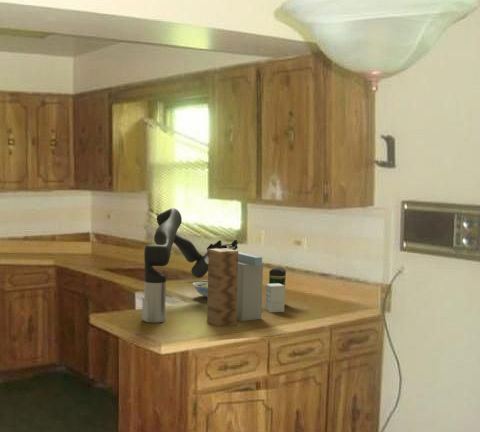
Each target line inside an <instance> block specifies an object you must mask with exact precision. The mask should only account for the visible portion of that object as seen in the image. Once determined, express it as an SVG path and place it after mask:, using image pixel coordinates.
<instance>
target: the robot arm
mask: <svg viewBox="0 0 480 432" xmlns="http://www.w3.org/2000/svg"><path fill="white" fill-rule="evenodd" d="M182 219H183V218H182V215H181V213H180V210H178V209H177V208H175V207H171V208H169V209H167V210H164V211H163V212H161V213H159V214H157V216H156V222H157V224H158V227H157V228H156V231H155V233H154V236H153V237H154V238H153V239H154V243H155V244H146V246H145V247H144V254H143V257H144V295H143V298H142V309H141V310H142V311H141V314H142V315H141V320H142V321H144V322H146V323H154V324H155V323H163V322H166V295H167V293H166V292H167V291H166V288H167V277H166V276H167V275H166V274H164V273H162V272H159V271H157V270H156V269H154V267H164V266H167V265H168V264H169V262H170V259H171V255H172V254H171V252H172V248H173V244H174V245H175V246H176V247H177V248H178V250H179V251H180V252H181V253H182V255H183V256H184V258H185V260H186V261H187V262H188V263H194V262H195V264H194V265H193V266H192V267H191V270H190V273H191V275H192V276H193V277H194V278H197V279H201V278H203V277H204V276H205V275H206V274H208V260H209V249H223V248H228V249H232V250H236V251H237V250H238V247H239V246H238V244H239V242H238V240H237V239H234V240H233V241H232V242H230V243H225V244H222V240H218V241H217V242H215V243H210V244H209V245H208V246H207V247H206V252H205V253H204V254H203V255H202V254H201V253H200V252H199V251H198V250H197V248H196V246H195V245H194V243H193V242H192V241H190V240H189V239H188V238H186V237H183V236H181V235H179V234H177V233H178V229H179V228H180V227H181V224H182V222H183V221H182Z"/></svg>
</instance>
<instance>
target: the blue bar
mask: <svg viewBox="0 0 480 432" xmlns="http://www.w3.org/2000/svg"><path fill="white" fill-rule="evenodd" d="M238 261H239V262H243V263H247V264H251V265H254V266H258V265H262V264H263V257H262V256H257V255H253V254H250V253H245V252H241V251H238Z"/></svg>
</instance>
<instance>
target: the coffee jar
mask: <svg viewBox="0 0 480 432" xmlns="http://www.w3.org/2000/svg"><path fill="white" fill-rule="evenodd" d="M268 272H269V273H268V284H276V283H280V284H282V285H284V286H285V287H286V274H287V273H286V272H287V271H286V269H285V268H284V267H280V266H279V267H273V268H272V269H269V271H268Z"/></svg>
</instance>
